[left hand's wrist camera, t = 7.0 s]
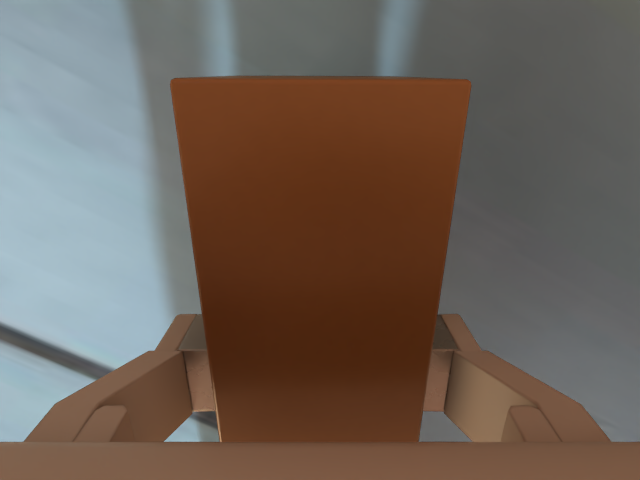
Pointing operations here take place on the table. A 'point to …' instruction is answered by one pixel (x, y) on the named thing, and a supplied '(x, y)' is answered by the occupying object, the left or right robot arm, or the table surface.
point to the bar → (319, 246)
